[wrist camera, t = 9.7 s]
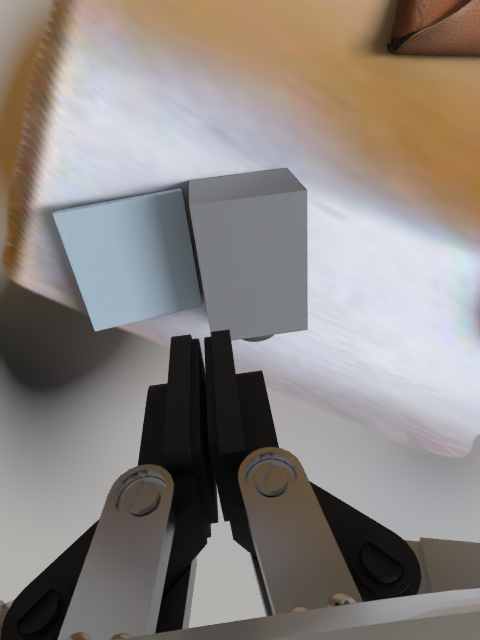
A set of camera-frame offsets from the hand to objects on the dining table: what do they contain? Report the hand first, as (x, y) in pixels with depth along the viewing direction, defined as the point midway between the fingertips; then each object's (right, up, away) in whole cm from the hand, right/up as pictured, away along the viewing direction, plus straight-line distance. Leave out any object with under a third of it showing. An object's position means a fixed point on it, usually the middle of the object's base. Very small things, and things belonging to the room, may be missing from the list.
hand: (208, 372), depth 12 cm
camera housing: (+1, +9, +28) cm, 30 cm away
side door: (-4, +8, +27) cm, 29 cm away
